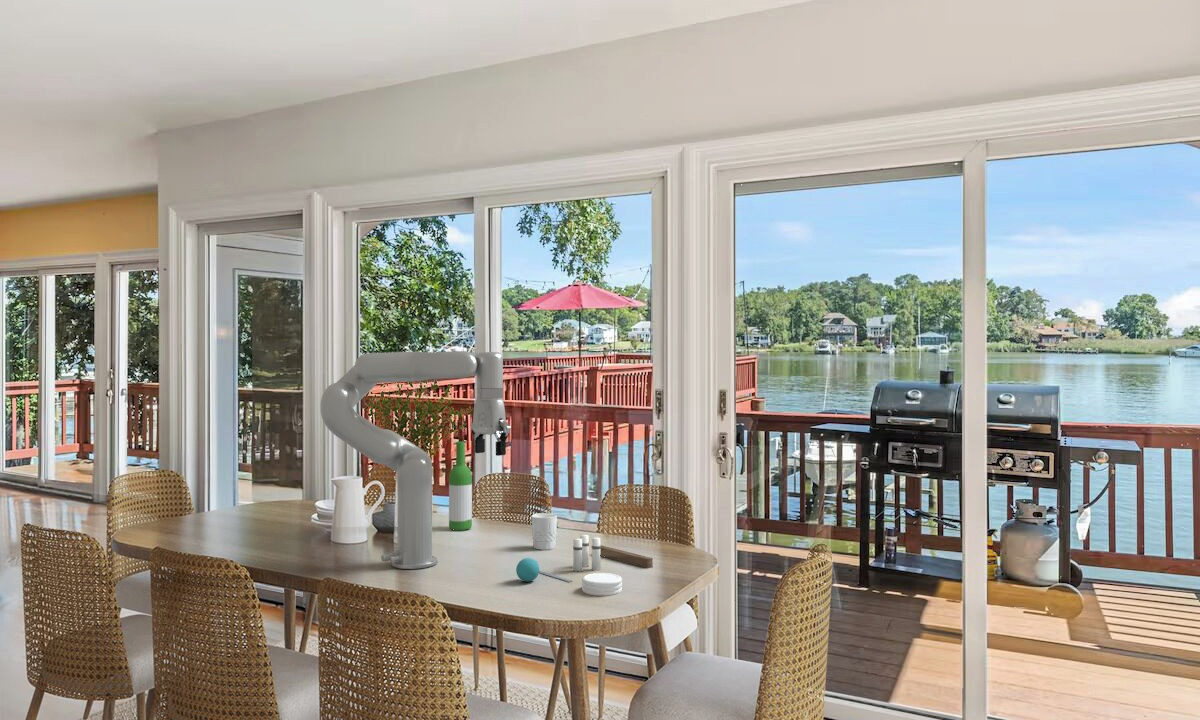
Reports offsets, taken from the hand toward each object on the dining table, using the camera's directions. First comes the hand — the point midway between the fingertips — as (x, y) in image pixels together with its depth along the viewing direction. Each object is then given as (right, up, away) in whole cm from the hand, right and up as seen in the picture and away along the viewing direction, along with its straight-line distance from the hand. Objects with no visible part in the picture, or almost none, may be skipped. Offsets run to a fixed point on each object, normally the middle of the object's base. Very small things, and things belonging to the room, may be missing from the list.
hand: (490, 454), depth 234 cm
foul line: (+19, -31, -17) cm, 40 cm away
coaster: (+32, -31, -31) cm, 54 cm away
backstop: (+38, -31, 0) cm, 49 cm away
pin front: (+26, -31, -11) cm, 42 cm away
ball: (+13, -28, -23) cm, 38 cm away
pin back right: (+31, -31, -10) cm, 45 cm away
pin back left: (+27, -31, -7) cm, 42 cm away
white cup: (+14, -31, +16) cm, 38 cm away
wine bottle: (-16, -31, +45) cm, 57 cm away
